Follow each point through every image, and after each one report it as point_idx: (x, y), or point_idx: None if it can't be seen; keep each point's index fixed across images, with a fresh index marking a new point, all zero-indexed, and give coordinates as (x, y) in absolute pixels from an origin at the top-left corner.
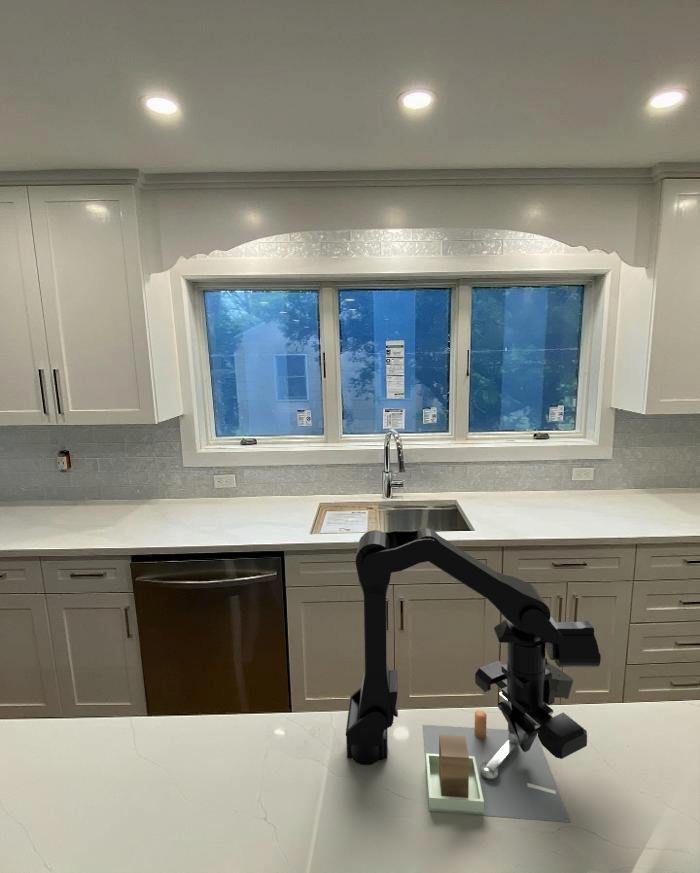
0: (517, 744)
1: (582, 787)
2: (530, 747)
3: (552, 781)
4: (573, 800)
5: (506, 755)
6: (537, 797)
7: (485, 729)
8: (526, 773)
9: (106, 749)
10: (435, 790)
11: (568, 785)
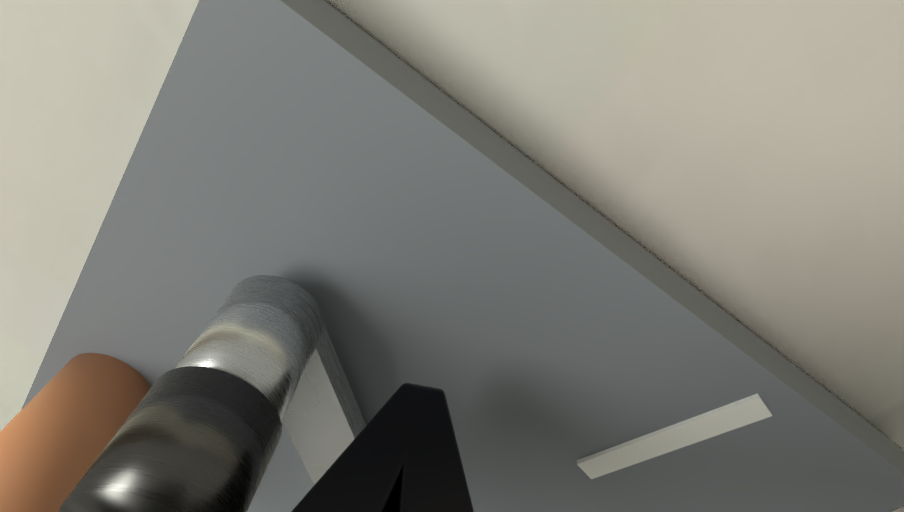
0: (318, 339)
1: (893, 89)
2: (450, 416)
3: (702, 345)
4: (854, 259)
5: None
6: (680, 493)
7: (100, 439)
8: (525, 414)
9: None
10: None
11: (773, 173)
